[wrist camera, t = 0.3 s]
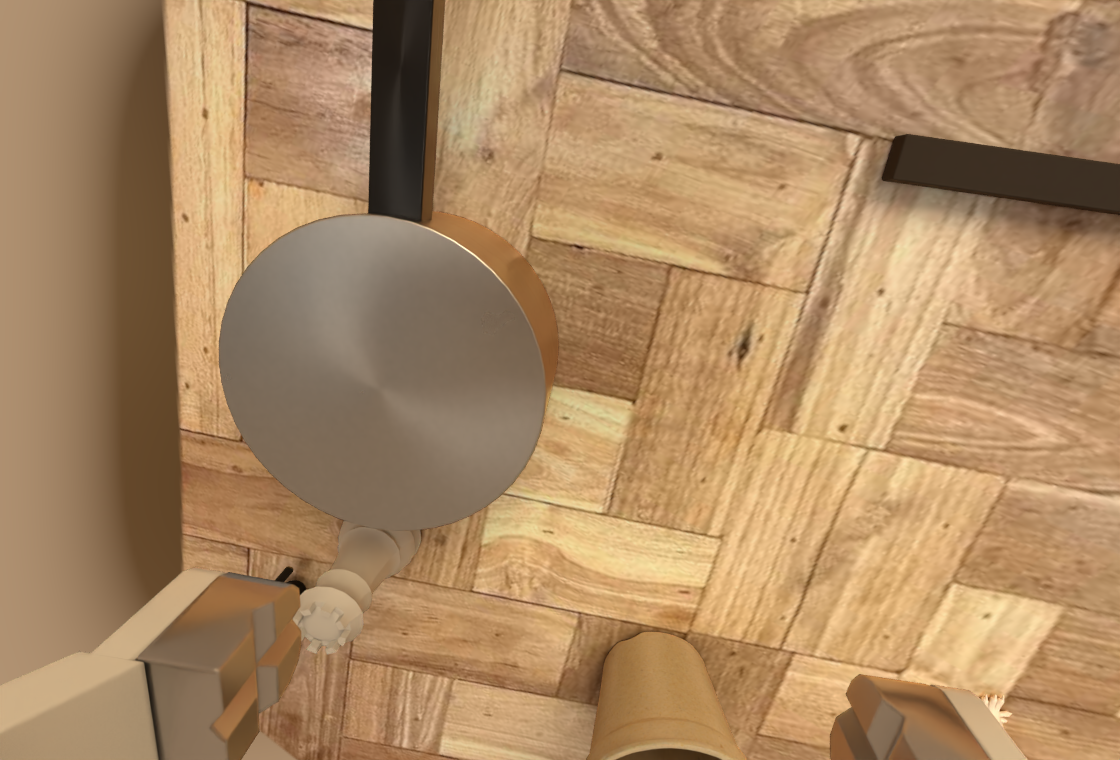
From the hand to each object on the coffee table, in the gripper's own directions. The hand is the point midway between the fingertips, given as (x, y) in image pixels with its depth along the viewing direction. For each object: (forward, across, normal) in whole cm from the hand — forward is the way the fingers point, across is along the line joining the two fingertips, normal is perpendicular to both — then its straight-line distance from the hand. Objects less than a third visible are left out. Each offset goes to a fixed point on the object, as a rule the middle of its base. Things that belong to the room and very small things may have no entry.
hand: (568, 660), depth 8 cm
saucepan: (+20, +8, -3) cm, 22 cm away
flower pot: (+20, -7, +20) cm, 30 cm away
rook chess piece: (+20, +10, +13) cm, 26 cm away
